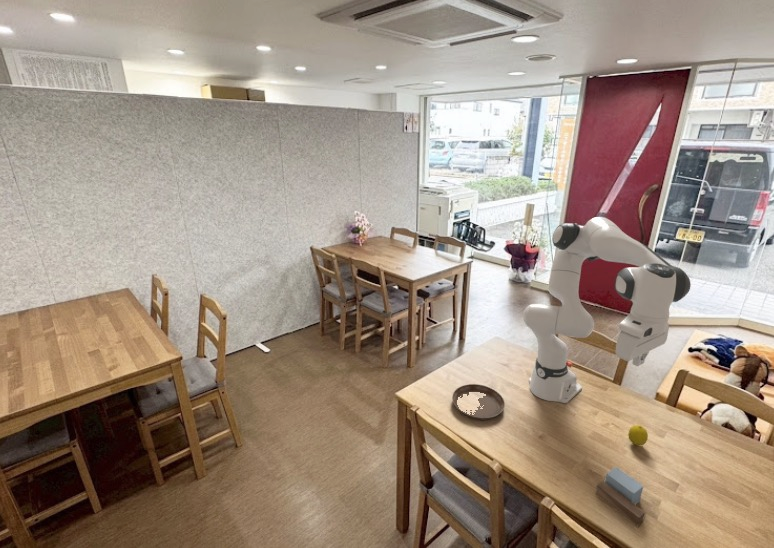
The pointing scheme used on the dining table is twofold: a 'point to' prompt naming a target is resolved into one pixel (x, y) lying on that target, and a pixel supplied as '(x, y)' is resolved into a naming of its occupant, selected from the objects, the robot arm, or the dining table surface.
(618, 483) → the block
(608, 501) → the brown rectangular bar
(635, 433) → the lemon
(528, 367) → the dining table surface
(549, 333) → the robot arm
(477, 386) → the plant saucer
